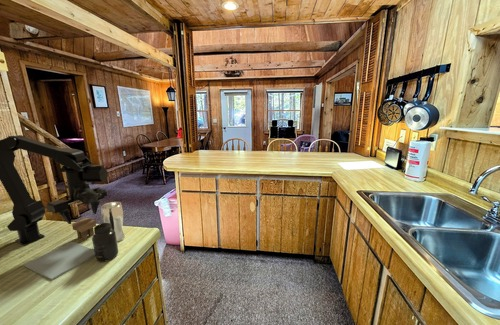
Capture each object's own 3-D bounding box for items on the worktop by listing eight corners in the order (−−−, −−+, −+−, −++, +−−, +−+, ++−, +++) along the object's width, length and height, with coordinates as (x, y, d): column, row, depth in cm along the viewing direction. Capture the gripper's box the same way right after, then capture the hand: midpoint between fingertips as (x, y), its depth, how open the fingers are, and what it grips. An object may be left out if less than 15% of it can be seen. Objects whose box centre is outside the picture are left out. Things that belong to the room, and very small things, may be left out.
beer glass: (116, 245, 80) (111, 209, 77) (101, 242, 82) (95, 207, 78) (129, 235, 87) (125, 202, 84) (115, 233, 88) (111, 200, 85)
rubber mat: (23, 266, 69) (23, 264, 68) (72, 242, 81) (72, 241, 81) (52, 280, 63) (51, 278, 63) (99, 253, 76) (99, 251, 75)
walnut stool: (74, 238, 84) (71, 223, 83) (89, 231, 89) (86, 217, 88) (83, 241, 82) (80, 226, 81) (97, 234, 87) (95, 220, 86)
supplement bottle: (105, 249, 78) (100, 220, 75) (122, 250, 77) (118, 221, 75) (90, 262, 71) (85, 230, 68) (109, 263, 71) (105, 231, 68)
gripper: (60, 193, 69) (68, 234, 73) (114, 178, 86) (118, 212, 90) (41, 188, 73) (49, 228, 77) (96, 175, 90) (101, 208, 94)
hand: (82, 218), depth 84 cm, fingers open, 9 cm apart
